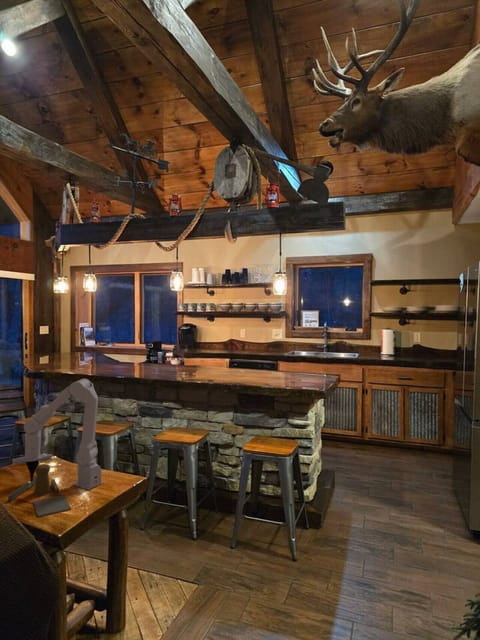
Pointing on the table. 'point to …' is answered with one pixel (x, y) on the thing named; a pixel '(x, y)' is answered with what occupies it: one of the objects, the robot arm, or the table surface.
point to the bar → (22, 489)
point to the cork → (42, 480)
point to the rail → (55, 487)
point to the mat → (51, 505)
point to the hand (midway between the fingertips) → (31, 478)
